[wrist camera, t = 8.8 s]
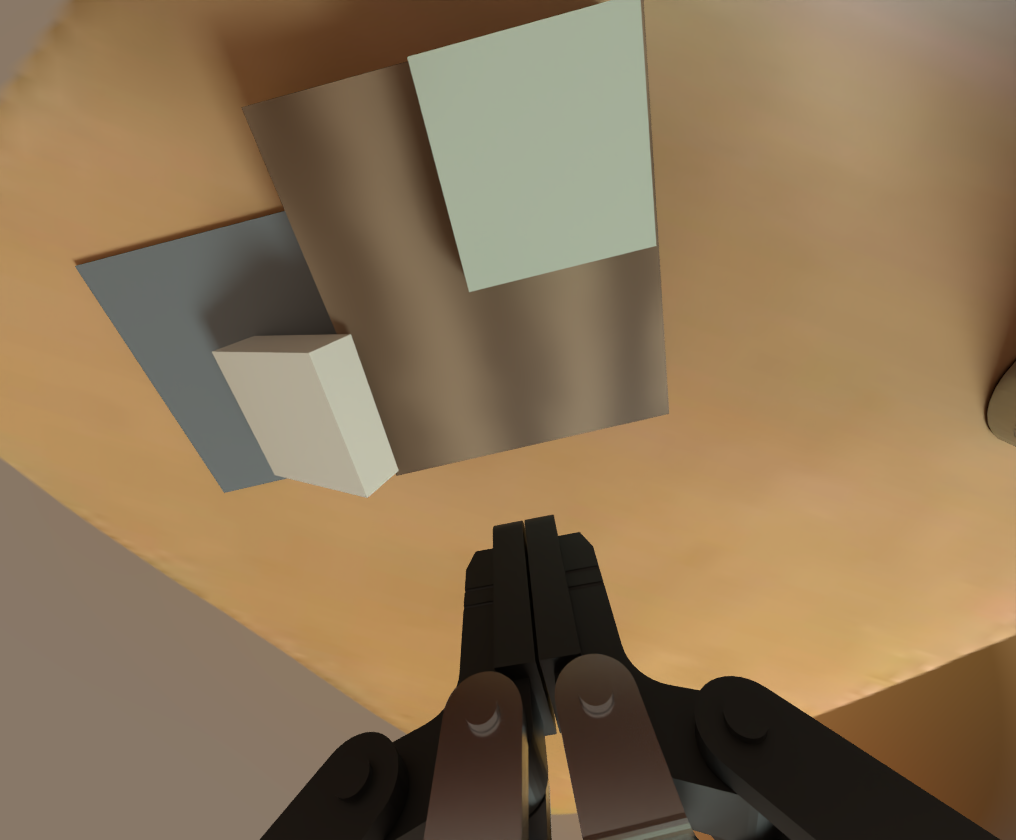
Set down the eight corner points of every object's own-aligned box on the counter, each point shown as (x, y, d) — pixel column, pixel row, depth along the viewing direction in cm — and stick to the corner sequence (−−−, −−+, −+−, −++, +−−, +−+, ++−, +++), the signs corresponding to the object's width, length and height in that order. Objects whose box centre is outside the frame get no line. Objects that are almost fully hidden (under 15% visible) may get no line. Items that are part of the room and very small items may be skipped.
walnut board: (613, 33, 20) (643, -4, 16) (644, 386, 28) (669, 413, 24) (282, 123, 21) (241, 107, 17) (406, 441, 29) (396, 475, 25)
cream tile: (350, 334, 21) (308, 353, 19) (398, 470, 24) (367, 497, 23) (254, 335, 25) (211, 351, 23) (307, 453, 28) (274, 475, 26)
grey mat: (295, 208, 22) (293, 208, 22) (394, 451, 29) (394, 453, 29) (79, 265, 23) (74, 266, 23) (226, 490, 30) (224, 492, 29)
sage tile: (618, 20, 16) (639, -8, 14) (636, 240, 20) (656, 245, 18) (416, 76, 17) (407, 56, 15) (470, 282, 20) (469, 292, 18)
